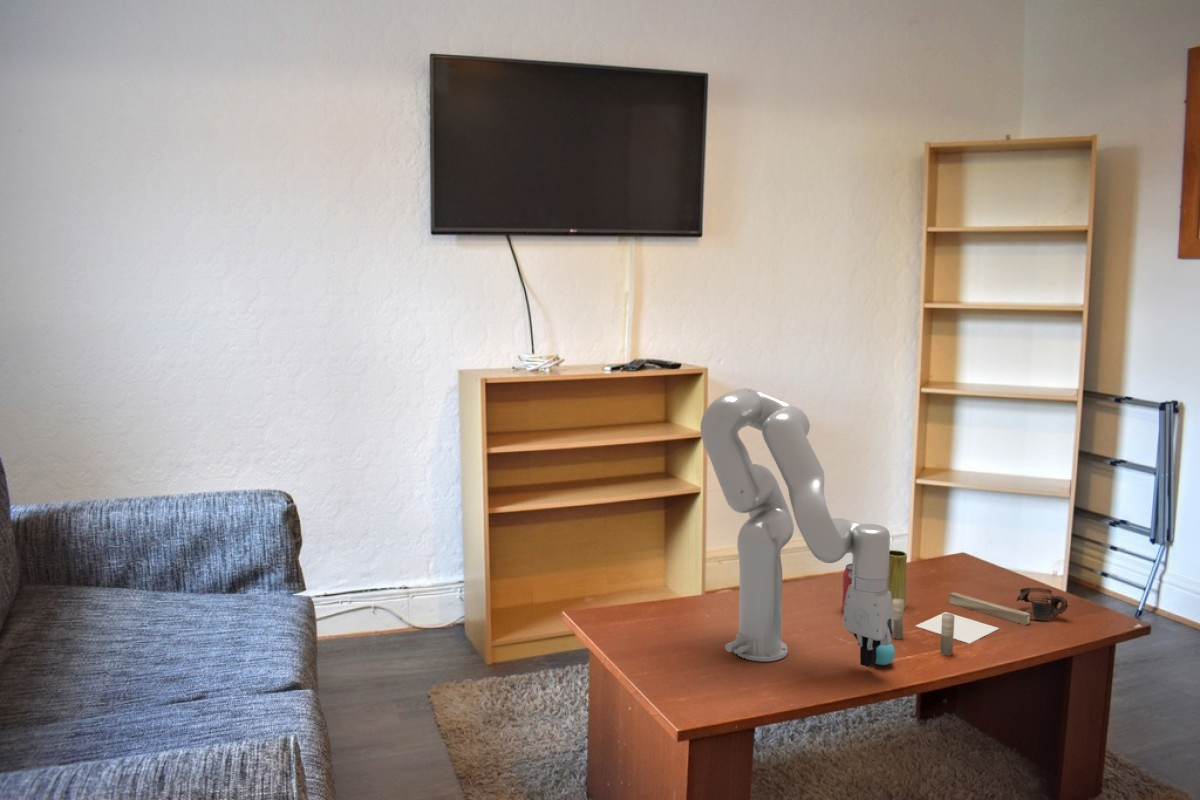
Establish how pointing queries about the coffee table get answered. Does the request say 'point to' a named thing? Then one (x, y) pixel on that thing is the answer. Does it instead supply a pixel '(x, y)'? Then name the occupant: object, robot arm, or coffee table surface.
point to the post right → (947, 634)
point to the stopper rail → (989, 608)
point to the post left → (898, 618)
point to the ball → (885, 654)
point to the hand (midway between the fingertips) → (868, 664)
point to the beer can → (846, 582)
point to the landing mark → (959, 628)
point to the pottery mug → (1042, 603)
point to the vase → (897, 575)
